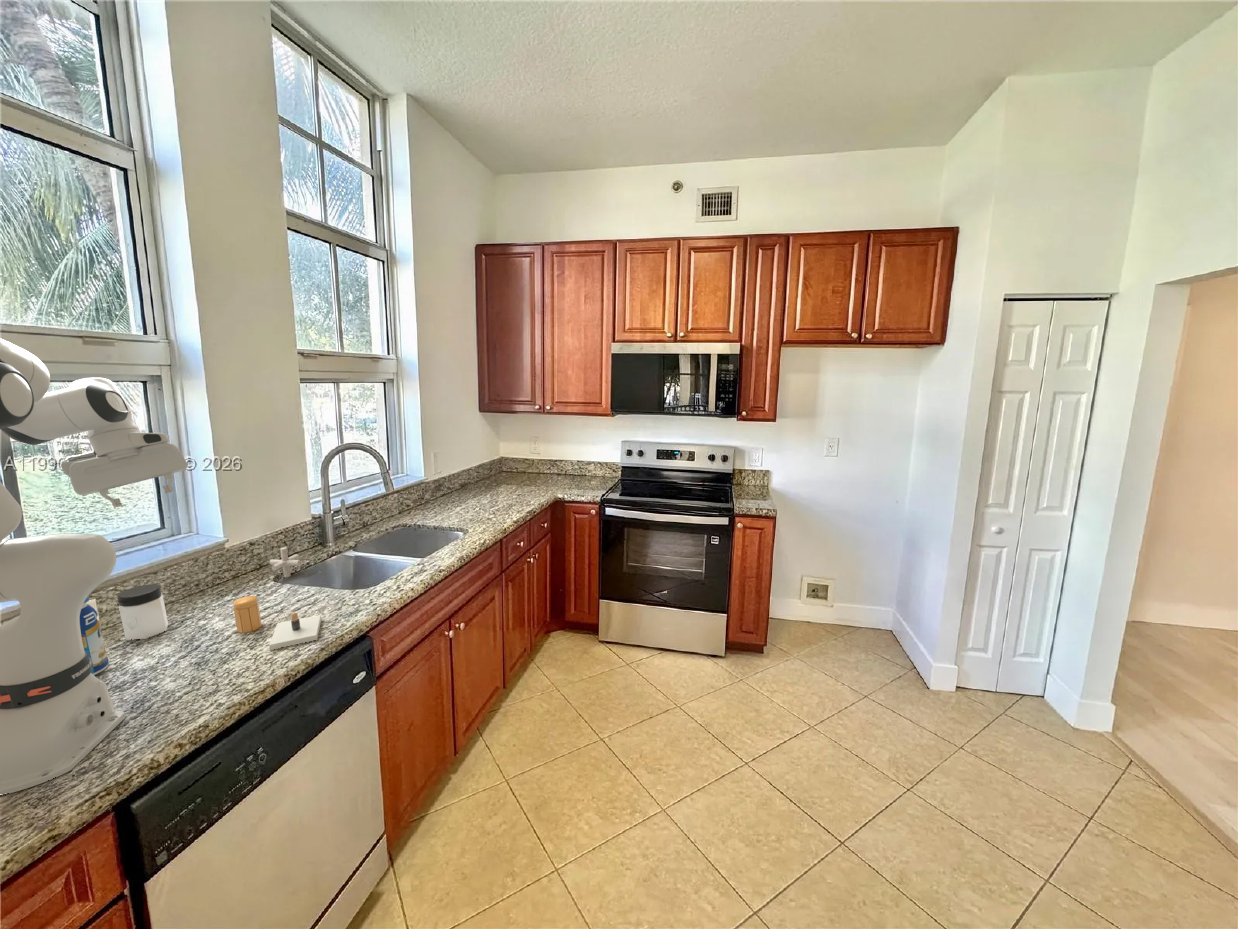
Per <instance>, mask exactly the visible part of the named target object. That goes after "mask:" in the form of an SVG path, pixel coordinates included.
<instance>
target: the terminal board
mask: <svg viewBox="0 0 1238 929" xmlns="http://www.w3.org/2000/svg"><path fill="white" fill-rule="evenodd" d="M290 617H291V619H290V620H287V621H282V622H277V623H276V626H275V628H274V632H273V634H272V636H271V639H270V642H269V645H268V646H269V651H274V649H275V650H278V648H279V649H282V648H281V647H284V648H287V647H286V646H289V647H291V646H290V645H293V646H296V645H295V644H298V645H300V644H299V643H303V644H306V643H305V642H307V643H310V642H309V641H312V642H314V641H313V640H316V641H318V639H317V638H319V634H318V633H320V628H321V624H322V615H321V614H317V615H312V616H308V617H303V618H302V617H301V618H299V614H298V613H297V612H293V613H291V615H290Z"/></svg>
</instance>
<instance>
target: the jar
mask: <svg viewBox="0 0 1238 929" xmlns="http://www.w3.org/2000/svg"><path fill="white" fill-rule="evenodd" d="M116 598H117V601H118V605H119V606H118V609H119V614H120V619H121V623H122V628H123V632H124V633H123V634H124V637H125V641H135V640H134V639H140V640H147V639H149V637H150V638H152V637H154V636H157V635H159V633H160V634H163V633H164V631H165V632H167V631H168V626H169V621H168V616H167V611H166V606H165V600H164V596H163V592H162V588H161V585H160V584H156V583H155V584H154V583H150V584H149V583H147V584H142V585H137V586H135V587H134V586H133V587H131V588H127V589H125V590H123V591H120V593H118V594H117V597H116ZM131 639H132V640H131Z"/></svg>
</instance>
